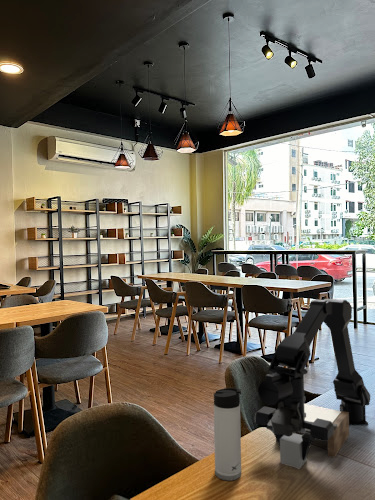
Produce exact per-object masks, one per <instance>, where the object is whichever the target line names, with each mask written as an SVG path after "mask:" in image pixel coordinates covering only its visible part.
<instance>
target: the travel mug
mask: <svg viewBox="0 0 375 500" xmlns="http://www.w3.org/2000/svg"><path fill="white" fill-rule="evenodd" d="M240 395H242V389H239V388H235V387H225V388H221V389H218V390H216V391H215V392H214V393H213V432H214V434H213V435H214V437H213V438H214V441H213V442H214V474H215V476H216V477H217V478H219V479H220V480H223V481H227V482H228V481H235V480H237V479H240V477H241V476H242V446H241V444H242V443H241V442H242V441H241V439H242V438H241V437H242V435H241V401H240V400H241V399H240Z"/></svg>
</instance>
